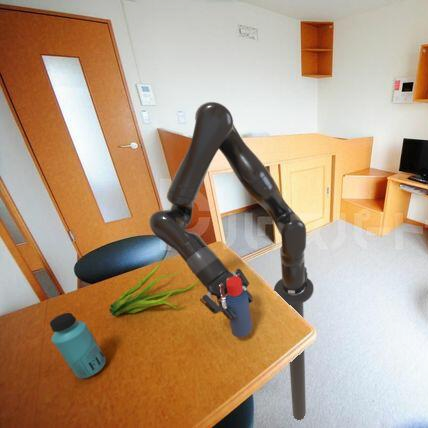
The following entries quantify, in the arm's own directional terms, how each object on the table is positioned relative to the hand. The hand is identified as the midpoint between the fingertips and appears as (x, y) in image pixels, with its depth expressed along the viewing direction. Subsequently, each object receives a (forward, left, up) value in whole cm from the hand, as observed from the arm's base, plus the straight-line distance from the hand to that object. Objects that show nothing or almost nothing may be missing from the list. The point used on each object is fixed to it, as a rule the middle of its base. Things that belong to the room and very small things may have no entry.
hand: (242, 309), depth 69 cm
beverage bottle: (+36, -20, -13) cm, 43 cm away
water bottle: (+1, -2, -9) cm, 9 cm away
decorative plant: (+14, -36, -13) cm, 41 cm away
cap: (+1, -1, +6) cm, 7 cm away
